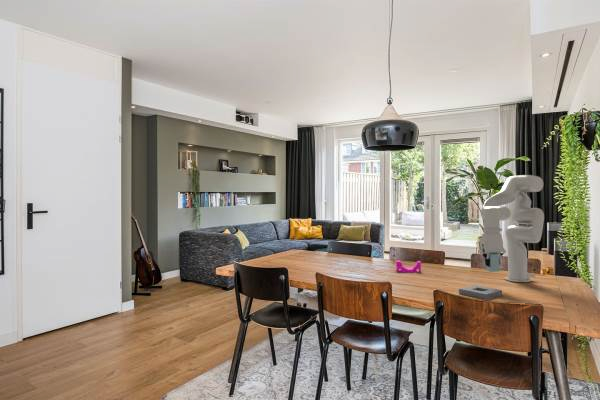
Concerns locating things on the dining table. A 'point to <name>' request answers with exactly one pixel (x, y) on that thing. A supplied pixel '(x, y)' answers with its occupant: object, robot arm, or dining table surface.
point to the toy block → (411, 270)
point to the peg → (493, 263)
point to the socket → (480, 292)
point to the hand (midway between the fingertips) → (492, 265)
